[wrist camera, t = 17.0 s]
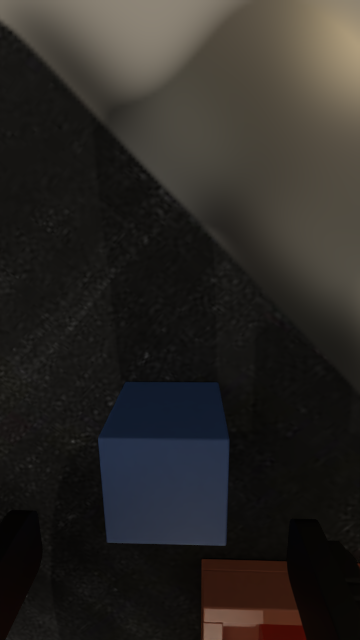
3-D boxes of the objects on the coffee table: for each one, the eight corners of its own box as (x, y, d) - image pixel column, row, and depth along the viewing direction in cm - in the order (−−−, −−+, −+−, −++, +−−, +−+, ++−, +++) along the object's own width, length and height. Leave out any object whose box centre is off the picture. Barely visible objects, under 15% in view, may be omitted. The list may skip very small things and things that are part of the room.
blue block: (125, 381, 15) (97, 437, 10) (218, 382, 15) (229, 439, 10) (129, 461, 16) (106, 543, 11) (216, 462, 16) (226, 546, 11)
